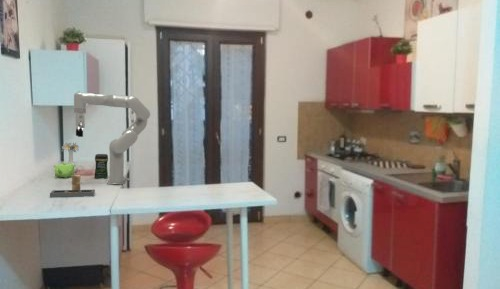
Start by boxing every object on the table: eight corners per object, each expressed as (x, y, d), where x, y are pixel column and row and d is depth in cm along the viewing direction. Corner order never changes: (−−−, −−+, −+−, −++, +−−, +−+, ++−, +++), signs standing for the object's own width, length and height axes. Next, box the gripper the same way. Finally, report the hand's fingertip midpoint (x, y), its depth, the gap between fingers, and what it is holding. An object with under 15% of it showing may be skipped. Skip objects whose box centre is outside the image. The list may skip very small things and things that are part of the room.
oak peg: (80, 190, 259) (80, 174, 258) (79, 191, 255) (79, 176, 254) (72, 190, 258) (73, 175, 257) (72, 191, 253) (72, 176, 253)
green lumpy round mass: (71, 175, 316) (72, 161, 315) (77, 178, 305) (78, 163, 304) (51, 176, 306) (51, 162, 305) (56, 179, 295) (56, 164, 295)
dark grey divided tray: (94, 193, 251) (94, 189, 250) (93, 196, 242) (93, 192, 242) (52, 194, 244) (52, 190, 244) (49, 197, 235) (49, 193, 235)
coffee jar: (93, 178, 303) (93, 154, 302) (95, 177, 311) (95, 153, 310) (107, 178, 305) (107, 154, 304) (108, 177, 313) (108, 153, 312)
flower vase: (79, 170, 341) (79, 141, 339) (78, 174, 323) (78, 143, 322) (62, 171, 336) (62, 141, 334) (60, 174, 319) (60, 143, 317)
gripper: (87, 111, 267) (87, 137, 268) (83, 111, 282) (83, 135, 283) (75, 111, 263) (74, 137, 264) (72, 110, 278) (71, 135, 279)
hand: (79, 136), depth 274 cm, fingers open, 9 cm apart
